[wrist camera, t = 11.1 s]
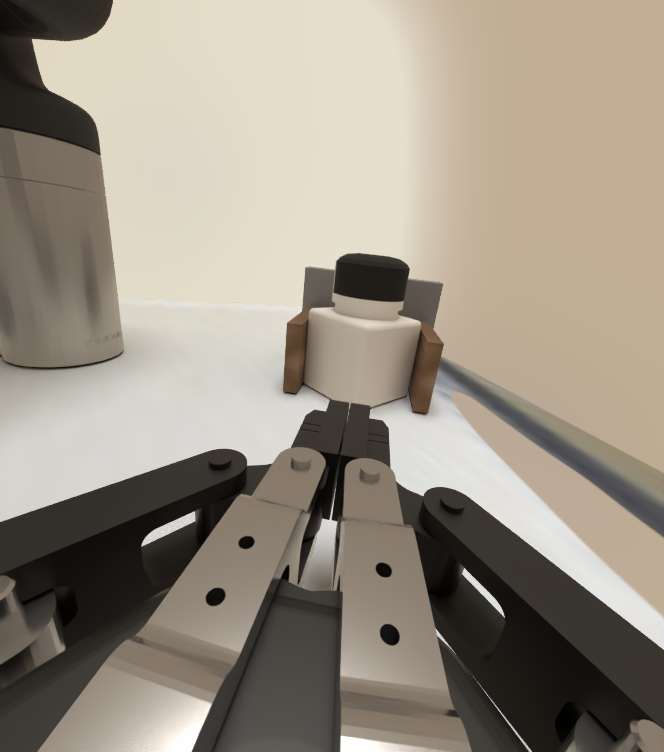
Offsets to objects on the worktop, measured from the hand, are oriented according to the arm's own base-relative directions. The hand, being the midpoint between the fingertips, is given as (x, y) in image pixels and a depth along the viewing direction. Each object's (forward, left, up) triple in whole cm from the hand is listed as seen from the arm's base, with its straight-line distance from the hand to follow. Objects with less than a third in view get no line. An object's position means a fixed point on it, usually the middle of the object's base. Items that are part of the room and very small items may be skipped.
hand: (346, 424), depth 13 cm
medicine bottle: (0, +18, -6) cm, 19 cm away
